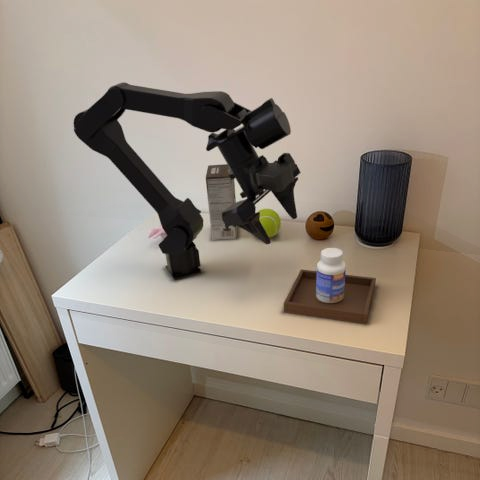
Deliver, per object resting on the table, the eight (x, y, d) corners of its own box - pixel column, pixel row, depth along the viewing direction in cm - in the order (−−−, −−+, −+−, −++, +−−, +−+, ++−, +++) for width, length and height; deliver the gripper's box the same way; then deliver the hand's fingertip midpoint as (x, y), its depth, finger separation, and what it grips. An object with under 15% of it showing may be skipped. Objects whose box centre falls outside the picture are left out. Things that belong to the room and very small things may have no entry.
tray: (283, 312, 93) (283, 302, 92) (300, 277, 103) (300, 269, 102) (365, 324, 88) (366, 314, 87) (375, 286, 98) (376, 277, 97)
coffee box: (213, 225, 128) (207, 164, 119) (237, 224, 128) (233, 163, 119) (211, 240, 121) (205, 176, 111) (237, 239, 120) (232, 175, 111)
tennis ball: (253, 230, 124) (252, 204, 120) (281, 230, 123) (280, 203, 119) (252, 242, 118) (250, 215, 114) (280, 242, 117) (280, 215, 113)
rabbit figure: (177, 228, 131) (141, 242, 119) (176, 206, 128) (139, 218, 117) (196, 232, 128) (161, 247, 117) (196, 209, 126) (159, 222, 114)
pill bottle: (335, 307, 92) (338, 261, 87) (310, 299, 95) (311, 254, 89) (348, 294, 96) (352, 249, 90) (324, 286, 98) (326, 243, 93)
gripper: (238, 174, 80) (283, 252, 86) (301, 124, 88) (337, 198, 94) (201, 189, 88) (244, 259, 94) (261, 142, 97) (297, 209, 103)
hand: (282, 230), depth 96 cm, fingers open, 9 cm apart
